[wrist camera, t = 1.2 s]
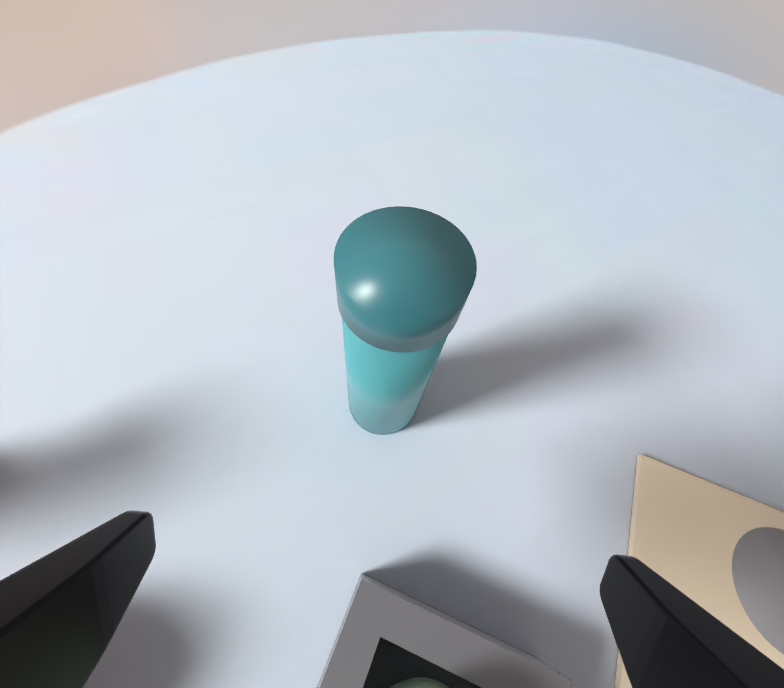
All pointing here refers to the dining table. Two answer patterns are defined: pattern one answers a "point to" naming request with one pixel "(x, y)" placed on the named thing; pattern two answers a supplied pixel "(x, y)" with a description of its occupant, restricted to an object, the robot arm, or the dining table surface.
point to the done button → (419, 683)
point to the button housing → (426, 644)
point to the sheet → (711, 552)
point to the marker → (397, 307)
